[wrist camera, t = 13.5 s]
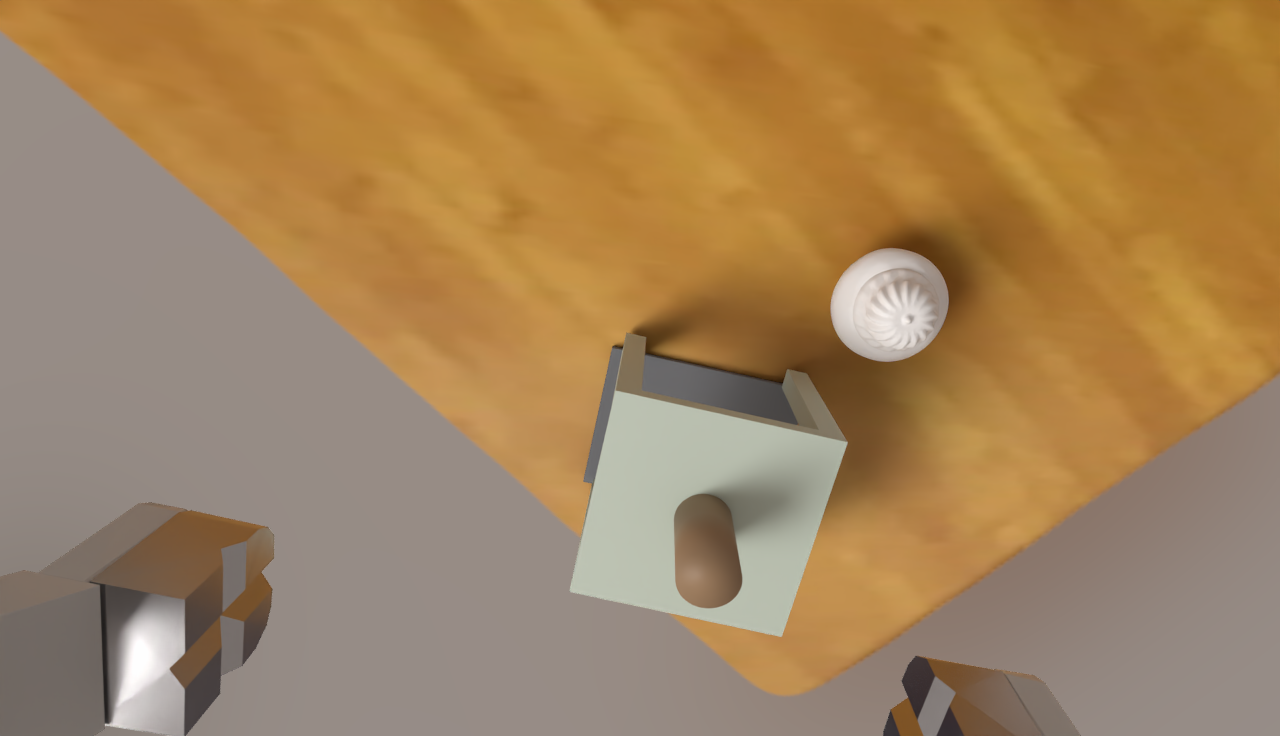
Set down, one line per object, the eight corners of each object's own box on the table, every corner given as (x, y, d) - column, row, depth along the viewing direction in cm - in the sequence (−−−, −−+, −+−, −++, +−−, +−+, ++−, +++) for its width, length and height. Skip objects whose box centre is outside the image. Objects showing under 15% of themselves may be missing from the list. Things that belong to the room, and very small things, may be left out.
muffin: (809, 252, 42) (836, 275, 36) (917, 227, 42) (966, 245, 35) (827, 354, 44) (856, 393, 37) (931, 330, 43) (980, 366, 37)
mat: (806, 388, 45) (807, 390, 44) (766, 517, 47) (767, 520, 47) (612, 345, 44) (612, 347, 44) (584, 478, 47) (583, 481, 47)
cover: (806, 373, 44) (877, 492, 29) (757, 532, 47) (798, 710, 33) (626, 332, 44) (607, 432, 29) (589, 495, 47) (555, 659, 32)
